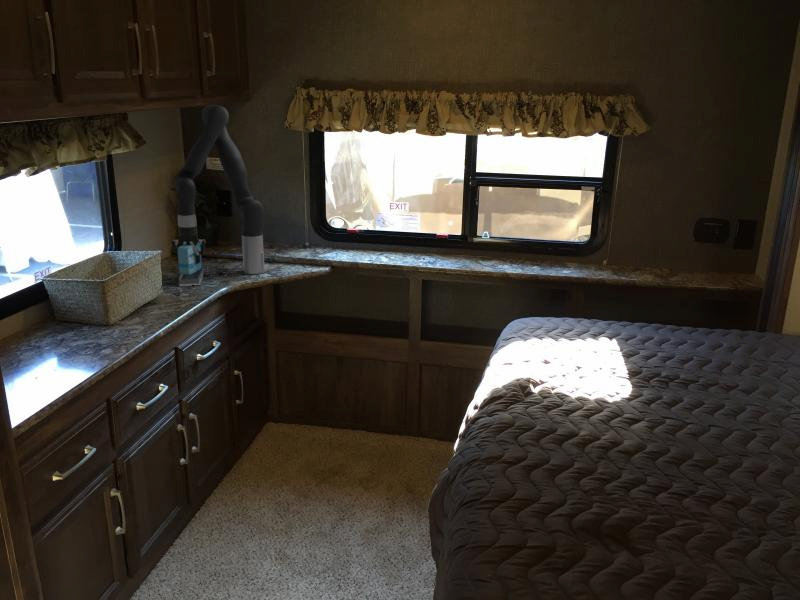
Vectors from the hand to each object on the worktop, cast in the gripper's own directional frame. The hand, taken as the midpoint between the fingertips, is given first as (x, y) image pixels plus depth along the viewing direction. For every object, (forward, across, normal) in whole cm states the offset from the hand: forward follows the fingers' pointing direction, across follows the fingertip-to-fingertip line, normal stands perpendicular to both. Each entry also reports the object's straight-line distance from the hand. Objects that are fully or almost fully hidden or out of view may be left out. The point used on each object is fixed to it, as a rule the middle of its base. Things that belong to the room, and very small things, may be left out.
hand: (190, 263), depth 292 cm
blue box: (+4, 0, 0) cm, 4 cm away
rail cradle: (+8, 0, 0) cm, 8 cm away
